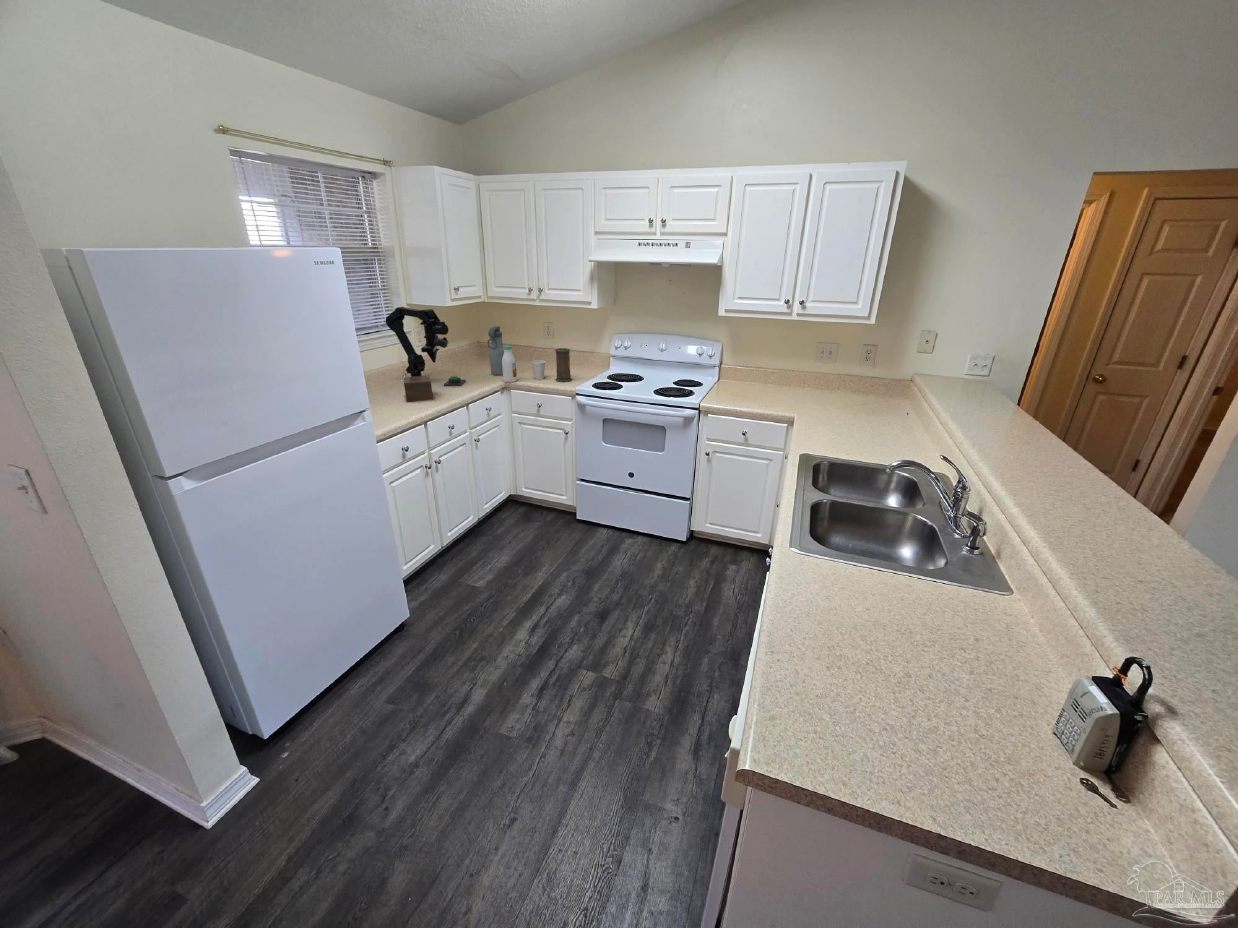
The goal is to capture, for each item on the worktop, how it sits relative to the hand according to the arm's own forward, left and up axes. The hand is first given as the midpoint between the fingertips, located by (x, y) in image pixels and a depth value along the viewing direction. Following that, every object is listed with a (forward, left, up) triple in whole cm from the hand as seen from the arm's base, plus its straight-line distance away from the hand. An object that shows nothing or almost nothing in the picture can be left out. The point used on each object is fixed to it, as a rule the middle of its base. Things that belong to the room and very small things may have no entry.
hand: (434, 362), depth 281 cm
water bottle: (-29, +29, -13) cm, 43 cm away
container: (-13, +70, -13) cm, 72 cm away
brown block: (+25, -1, -13) cm, 28 cm away
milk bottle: (-11, +39, -13) cm, 42 cm away
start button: (-4, +9, -10) cm, 14 cm away
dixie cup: (-18, +55, -13) cm, 59 cm away
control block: (-4, +9, -13) cm, 16 cm away
